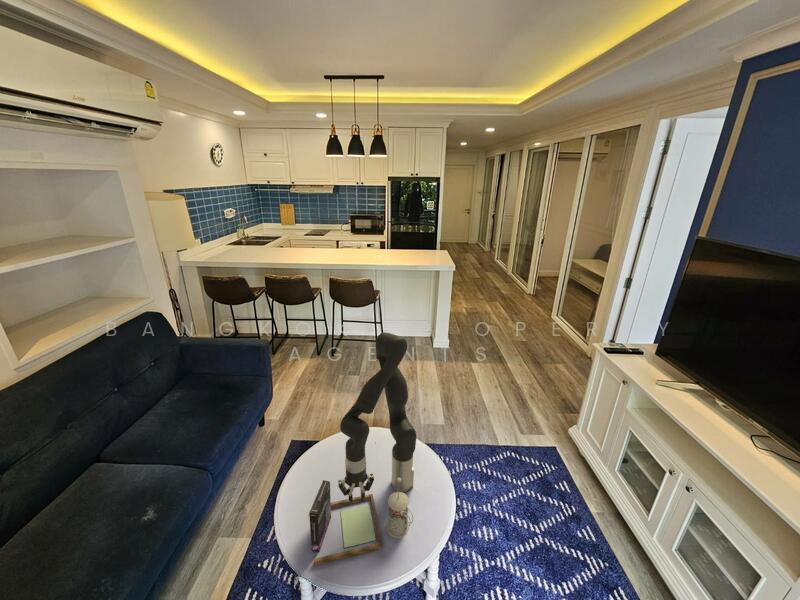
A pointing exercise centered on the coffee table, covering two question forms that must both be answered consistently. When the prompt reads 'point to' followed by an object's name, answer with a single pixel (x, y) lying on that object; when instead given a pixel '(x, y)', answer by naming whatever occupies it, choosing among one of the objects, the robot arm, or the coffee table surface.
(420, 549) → the coffee table surface
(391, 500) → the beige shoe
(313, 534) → the box
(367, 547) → the bay
